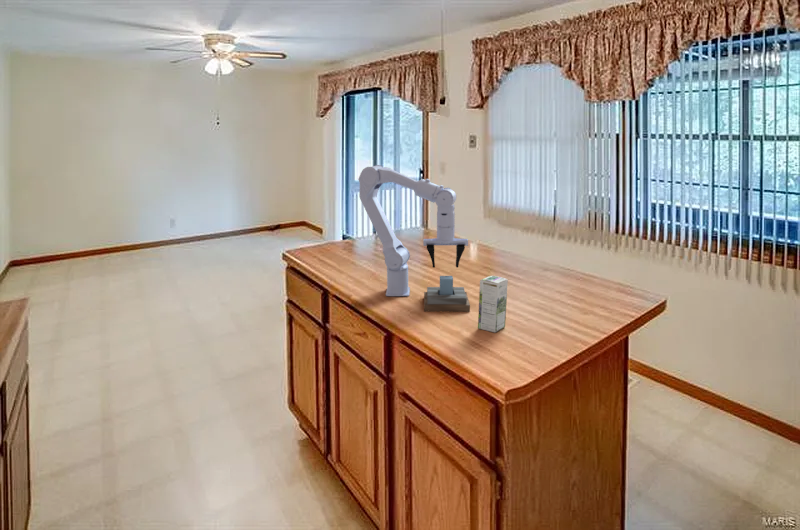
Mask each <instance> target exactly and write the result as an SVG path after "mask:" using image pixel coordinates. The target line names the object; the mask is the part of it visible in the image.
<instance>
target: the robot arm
mask: <svg viewBox="0 0 800 530" xmlns="http://www.w3.org/2000/svg"><path fill="white" fill-rule="evenodd" d="M357 179H358V182H359V194H358V195H359V200H360V202H361V204H362V205H363V208H364V210H365V211H366V214H367V215H368V218H369V220H370V222H371V224H372V226H373V228H374V230H375V232H376V234H377V236H378V238H379V240H380V242H381V244H382V253H383V255H384V256H383V257H384V264H385V265H386V280H387V281H386V283H387V284H386V286H387V287H386V292H385V296H386V297H409V296H410V292H411V291H410V290H411V287H410V286H409V266H408V263H407V262H409V260H410V257H411V255H410V251H409V250H408V248H407V247H405V246H404V244H403V243H402V241H401V240H400V239H398V237H397V236H396V234H395V232H394V230H393V228H392V225H391V224H390V222H389V220H388V217H387V215H386V213H385V211H384V209H383V207H382V205H381V203H380V201H379V199H378V197H377V195H378V193H379V190H380V188H381V186H382V185H383V184H385V183H393V184H396V185H399V186H402V187H404V188H407V189H409V190H412V191H413V192H414V194H415V195H416V196H417V197H419V198H422V199H424V200H426V201H429V202H431V203H433V204H436V206H437V211H436V237H434V238H423V240H422V245H423V247H426V250H427V253H428V254H429V258H430V259H431V264H432V268H434V269H435V267H436V263H435V246H456V248H455V251H456V257H455V258H456V259H455V267H456V268H459V264H460V260H461V257H462V255H463V254H464V252H465V247H468V246H469V239H468V238H457V237H456V238H455V231H456V230H455V228H456V227H455V224H456V223H455V222H456V221H455V220H456V219H455V217H456V216H455V215H456V214H455V203H456V201H457V194H456V191H454V190H453V189H452V188H451V187H445V186H444V185H443V184H440V185H439V184H436V183H434V182H431V179H429V178H426V179H424V178H422V179H419V180H416V179H414V178H412V177H410V176H408V175H405V174H404V173H401V172H399V171H397V170H395V169H392V168H390V167H386V166H383V165H379V164H376V165H373V166H366V167H365V168H363V169H362V170H361V172H360V175H359V176H358V178H357ZM444 187H445V188H444Z"/></svg>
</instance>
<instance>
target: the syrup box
mask: <svg viewBox="0 0 800 530" xmlns="http://www.w3.org/2000/svg"><path fill="white" fill-rule="evenodd" d="M508 281H509V279H507V278H505V277H502V276H497V275H489V276H486V277H485V278H482V279H480V281H479V292H478V293H479V295H478V320H477V328H478V329H479V330H484V331H487V332H492V333H498V332H499V331H501V330H502V329H504V328H505V327H506V319H507V317H506V316H507V301H508V300H507V299H508V286H509V285H508Z"/></svg>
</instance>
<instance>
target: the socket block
mask: <svg viewBox="0 0 800 530" xmlns="http://www.w3.org/2000/svg"><path fill="white" fill-rule="evenodd" d="M423 301H424V302H423V307H424V311H423V312H426V313H427V312H428V313H430V312H431V313H432V312H435V311H437V312H439V311H442V312H444V311H449V313H450V312H451V311H453V313H454V312H455V313H457V312H461V313H462V312H463V313H465V312H469V313H470V312H471V309H470V308H471V304H470V301H469V297H468V292H467V291H466V290H465V288H464V286H453V295H440V286H427V287H426V291H424V292H423ZM435 313H436V312H435ZM451 313H452V312H451Z"/></svg>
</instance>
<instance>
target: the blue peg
mask: <svg viewBox="0 0 800 530" xmlns="http://www.w3.org/2000/svg"><path fill="white" fill-rule="evenodd" d="M439 287H440V295H453V287H454V277H453V275H440V276H439Z"/></svg>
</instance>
